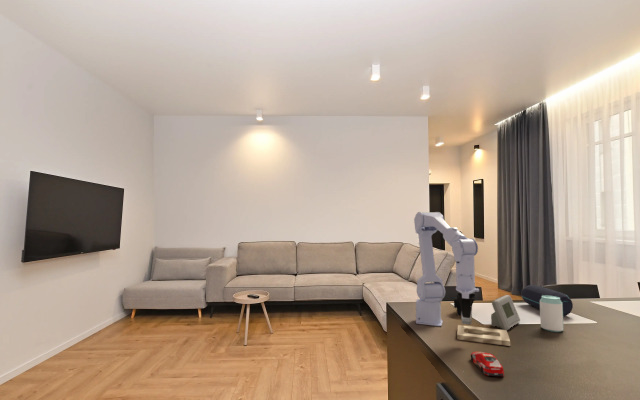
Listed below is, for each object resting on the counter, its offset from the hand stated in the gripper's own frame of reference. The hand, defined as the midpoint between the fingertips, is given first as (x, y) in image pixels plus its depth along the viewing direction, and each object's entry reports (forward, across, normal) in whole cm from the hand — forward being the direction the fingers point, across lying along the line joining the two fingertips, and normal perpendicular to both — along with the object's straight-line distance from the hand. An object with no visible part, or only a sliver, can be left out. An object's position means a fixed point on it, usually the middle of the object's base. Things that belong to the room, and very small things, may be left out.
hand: (466, 316), depth 113 cm
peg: (+2, 0, 0) cm, 2 cm away
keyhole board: (+9, +9, -5) cm, 13 cm away
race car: (+9, -18, -5) cm, 21 cm away
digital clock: (+9, +27, -14) cm, 31 cm away
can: (+9, +28, -29) cm, 41 cm away
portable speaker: (+9, +59, -32) cm, 68 cm away
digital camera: (+9, +40, +2) cm, 41 cm away
